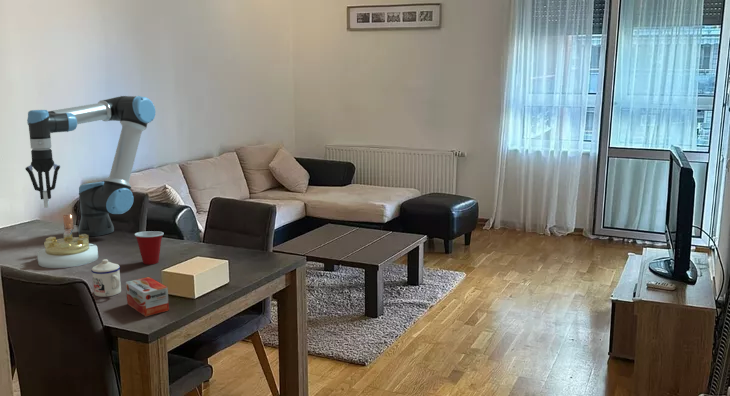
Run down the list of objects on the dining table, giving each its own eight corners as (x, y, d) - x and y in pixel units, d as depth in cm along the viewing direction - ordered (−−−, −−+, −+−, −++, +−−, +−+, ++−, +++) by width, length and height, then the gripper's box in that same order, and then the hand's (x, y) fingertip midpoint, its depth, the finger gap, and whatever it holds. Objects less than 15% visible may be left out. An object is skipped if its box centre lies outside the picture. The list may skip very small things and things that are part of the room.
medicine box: (126, 304, 227) (124, 281, 226) (150, 299, 232) (148, 275, 231) (145, 317, 216) (143, 292, 214) (170, 311, 221) (168, 286, 219)
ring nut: (88, 253, 272) (85, 224, 269) (43, 257, 267) (40, 228, 264) (91, 238, 293) (88, 212, 291) (49, 242, 288) (46, 215, 286)
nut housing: (94, 249, 292) (93, 239, 291) (102, 262, 273) (101, 252, 272) (36, 257, 282) (35, 247, 281) (40, 271, 263) (39, 260, 262)
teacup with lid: (88, 293, 238) (85, 260, 235) (112, 286, 244) (110, 254, 242) (107, 301, 230) (104, 267, 228) (132, 293, 237) (129, 260, 235)
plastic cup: (171, 259, 276) (169, 230, 274) (154, 267, 266) (152, 236, 264) (148, 257, 280) (145, 228, 278) (130, 265, 270) (128, 234, 268)
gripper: (21, 150, 273) (27, 209, 278) (58, 149, 277) (63, 207, 282) (24, 148, 280) (30, 206, 285) (59, 147, 284) (64, 204, 289)
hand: (46, 207), depth 283 cm, fingers closed
